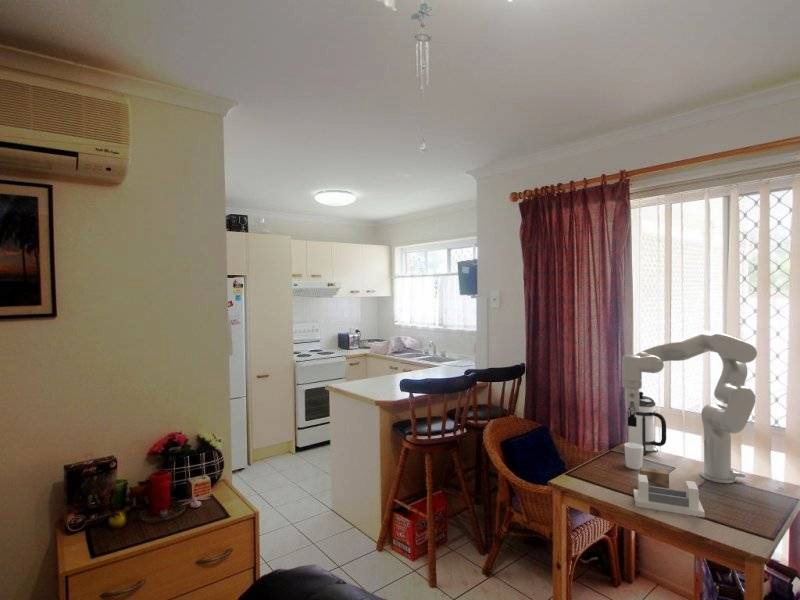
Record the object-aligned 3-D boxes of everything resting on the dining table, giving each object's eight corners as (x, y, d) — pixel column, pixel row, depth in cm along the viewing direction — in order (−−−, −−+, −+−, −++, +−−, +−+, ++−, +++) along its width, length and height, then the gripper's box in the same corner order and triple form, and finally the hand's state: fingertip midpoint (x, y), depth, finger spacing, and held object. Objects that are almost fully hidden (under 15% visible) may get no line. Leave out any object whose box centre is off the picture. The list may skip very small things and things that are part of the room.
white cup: (620, 465, 208) (620, 444, 208) (632, 462, 211) (632, 441, 211) (635, 471, 201) (635, 449, 200) (647, 468, 204) (647, 446, 204)
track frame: (698, 503, 170) (698, 480, 170) (704, 517, 160) (704, 492, 160) (633, 493, 179) (633, 471, 179) (635, 506, 169) (635, 482, 169)
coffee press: (626, 454, 221) (626, 394, 220) (623, 444, 236) (623, 387, 235) (666, 458, 215) (666, 396, 214) (660, 447, 230) (660, 389, 229)
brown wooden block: (667, 489, 182) (667, 470, 182) (669, 493, 179) (669, 474, 178) (640, 485, 186) (639, 466, 186) (640, 489, 183) (640, 470, 183)
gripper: (642, 388, 183) (642, 429, 184) (640, 380, 199) (641, 418, 199) (622, 387, 187) (622, 427, 187) (622, 379, 202) (622, 416, 202)
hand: (632, 423), depth 193 cm, fingers open, 9 cm apart
